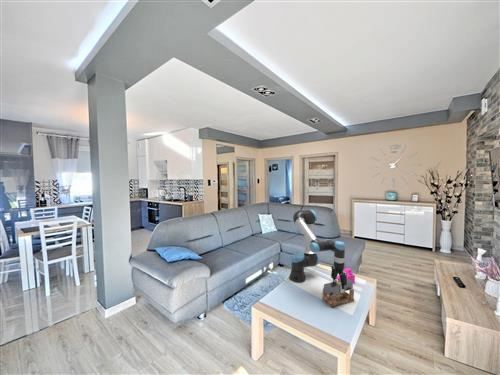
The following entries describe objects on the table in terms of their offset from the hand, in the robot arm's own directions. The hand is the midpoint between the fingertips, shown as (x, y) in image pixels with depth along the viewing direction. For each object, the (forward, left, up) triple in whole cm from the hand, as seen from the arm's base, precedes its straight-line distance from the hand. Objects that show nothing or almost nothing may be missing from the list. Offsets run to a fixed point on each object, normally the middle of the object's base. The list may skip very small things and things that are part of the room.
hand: (338, 290), depth 165 cm
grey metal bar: (0, 0, 0) cm, 0 cm away
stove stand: (0, 0, -9) cm, 9 cm away
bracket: (-20, +29, -9) cm, 37 cm away
